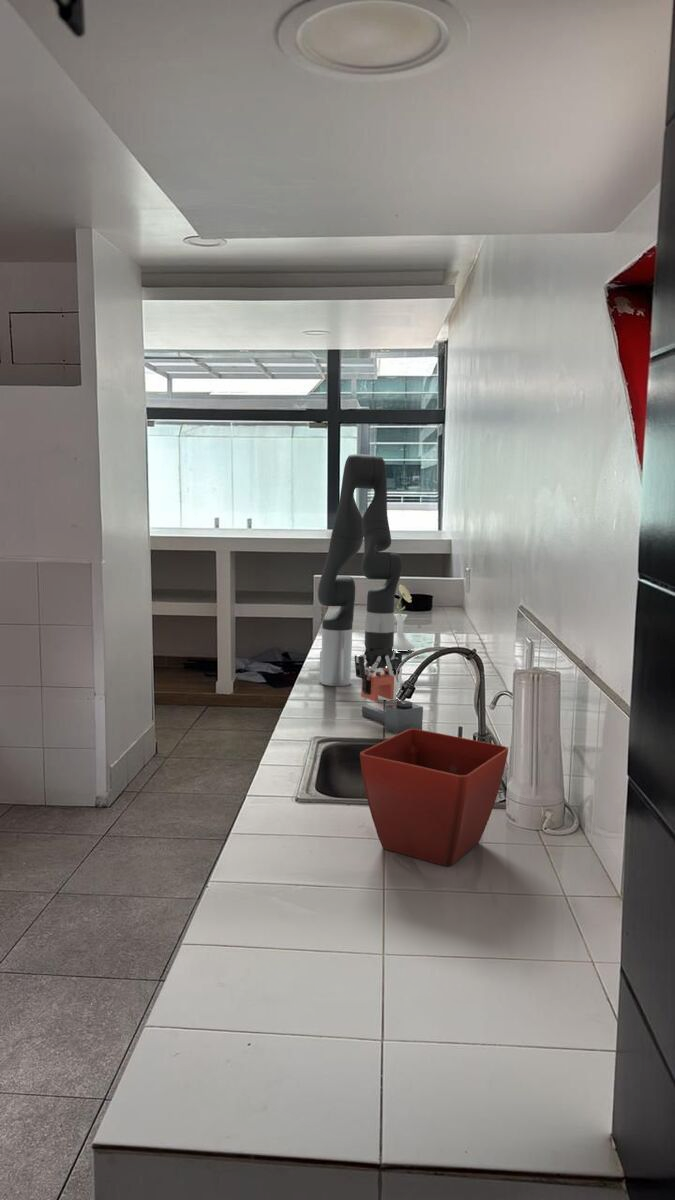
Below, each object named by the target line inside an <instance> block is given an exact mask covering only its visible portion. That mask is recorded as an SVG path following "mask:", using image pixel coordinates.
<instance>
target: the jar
mask: <svg viewBox="0 0 675 1200" xmlns="http://www.w3.org/2000/svg"><path fill="white" fill-rule="evenodd" d="M401 662H402V663H403V658H402V659H401ZM390 663H392V658H391V660H390ZM395 668H396V667H395ZM376 672H382V673H384V671H383V669H382V668H381V667H380V668H378V669H376V670H375V672H374V673H376ZM402 674H403V667H402V668H401V669H400V672H399V674H398V681H399V682H398V683H397V681H396V677H395V676H394V696H393V699H388V698H385V697H382V696H379V695H378V701H383V700H386V701H385V702H391V701H390V700H393V701H396V700H395V699H396V693H397V691H398V689H399V687H400V684H401V685H402V681H403V680H402V679H403V678H402V676H403V675H402Z"/></svg>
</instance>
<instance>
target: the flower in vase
mask: <svg viewBox="0 0 675 1200" xmlns="http://www.w3.org/2000/svg"><path fill="white" fill-rule="evenodd" d="M398 590H399V593H400V595H401V596H400V599H399V601H398V603H397V604H396V609H398V612H399V613H394V618H395V620H396V625H397V626H396V628H397V629H396V633H395V634H394V646H393V647H392V649H397V650H411V649H413V650H415V644H414V643H413V642H412V641H411V640H409V638H407V637H406V636H405V634H404V623H405V620H406V618H407V617H408V614H405V613H404V614H403V613H401V611H403V610H405V609H406V606H405V605H404V606H403V607H402V608H400V603H401V601H402V599H404V600H405V601H406V602H407V603H412V601H413V600H412V598H413V597H412V596H411V594H410V590H408V589H407V587H406V586H405V585H402V584H399V586H398ZM411 651H412V650H411Z"/></svg>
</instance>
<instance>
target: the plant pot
mask: <svg viewBox="0 0 675 1200" xmlns="http://www.w3.org/2000/svg"><path fill="white" fill-rule="evenodd" d="M508 754H509V747H508V746H505V745H500V744H494V743H490V742H485V741H484V742H483V741H480V740H475V739H470V738H464V737H460V736H454V735H449V734H445V733H441V732H440V733H438V732H434V731H429V730H424V729H422V730H419V729H408V730H405V731H403V732H401V733H399V734H395V735H393V736H391V737H389V738H387V739H385V740H383V741H381V742H379V743H377V744H375V745H372V746H371V747H368V748H366V749H364V750H362V751H360V753H359V759H360V767H361V774H362V780H363V786H364V787H363V788H364V791H365V794H366V799H367V803H368V807H369V811H370V815H371V818H372V821H373V824H374V827H375V830H376V833H377V837H378V840H379V842H380V844H381V847H382V848H383V849H385V850H387V851H389V852H390V851H391V852H394V853H397V854H401V855H405V856H408V857H411V858H412V857H413V858H416V859H419V860H422V861H425V862H430V863H434V864H437V865H441V866H445V867H450V866H453V865H454V864H455V863H457V861H459V860H460V859H461V858H462V857H464V855H466V854H467V853H468V852H469V851H471V850H472V849H473V848H474V847H475V846H476V845H478V844H479V842H480V841H481V839H482V836H483V834H484V833H485V829H486V827H487V825H488V822H489V821H490V820H489V819H490V817H491V814H492V811H493V809H494V806H495V803H496V800H497V797H498V794H499V791H500V788H501V785H502V781H503V775H504V772H505V768H506V763H507V759H508Z"/></svg>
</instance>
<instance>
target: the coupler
mask: <svg viewBox="0 0 675 1200" xmlns="http://www.w3.org/2000/svg"><path fill="white" fill-rule="evenodd" d="M395 703H396V704H391V705H390V704H389V705H385V710H382V709H380V708H378V707H374V706H371V705H370V704H367V705H362V706H361V708H362V709H361V715H362V716H363V717H366V718H368V719H371V720H373V721H376V722H379V723H381V724H383V725H384V730H385V731H388V732H390V733H393V734H395V735H397V734H399V733H401V732H403V731H405V730H408V729H419V730H423V720H424V719H423V718H424V717H423V715H424V713H423V712H424V706H422V705H419V704H416V703H413V702H412V701H410V700H396V702H395Z"/></svg>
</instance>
